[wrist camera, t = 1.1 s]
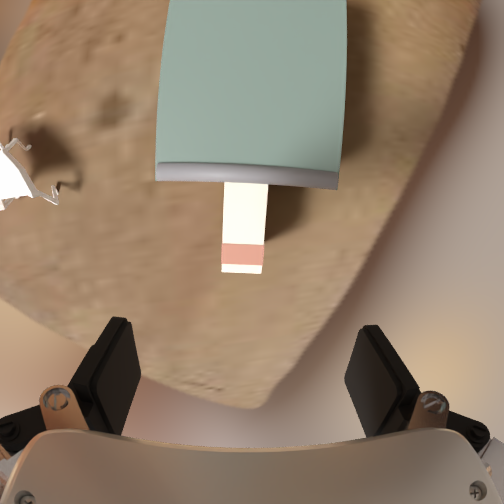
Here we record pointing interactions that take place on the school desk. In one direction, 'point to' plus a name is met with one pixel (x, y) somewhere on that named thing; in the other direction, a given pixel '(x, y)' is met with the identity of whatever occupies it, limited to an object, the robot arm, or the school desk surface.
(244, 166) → the block
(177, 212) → the school desk surface
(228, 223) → the pink-banded cream bar
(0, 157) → the white scroll-footed stand
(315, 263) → the school desk surface
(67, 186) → the school desk surface
